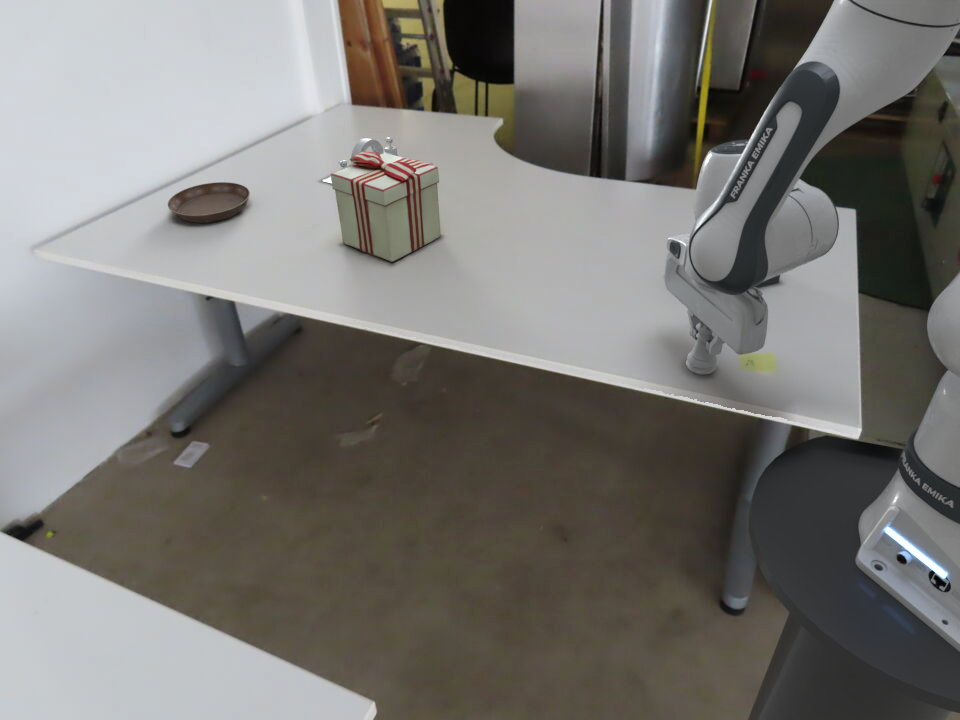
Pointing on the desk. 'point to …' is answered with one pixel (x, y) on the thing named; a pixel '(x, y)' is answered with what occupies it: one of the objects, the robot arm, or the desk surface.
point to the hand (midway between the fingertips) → (704, 344)
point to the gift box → (387, 204)
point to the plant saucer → (209, 202)
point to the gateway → (363, 145)
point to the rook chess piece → (701, 352)
